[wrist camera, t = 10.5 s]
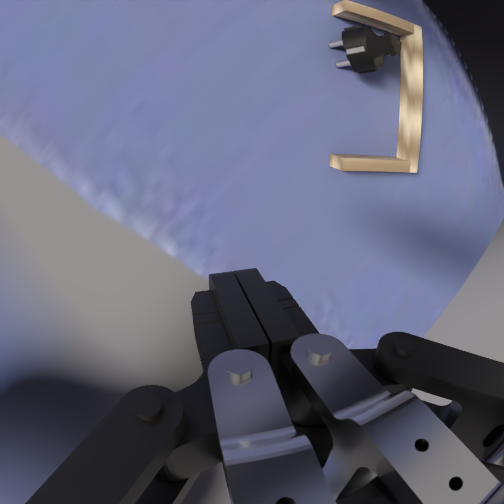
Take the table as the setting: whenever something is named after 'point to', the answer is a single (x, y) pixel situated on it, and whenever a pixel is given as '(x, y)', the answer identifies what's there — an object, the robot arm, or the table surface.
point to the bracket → (408, 91)
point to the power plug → (366, 48)
